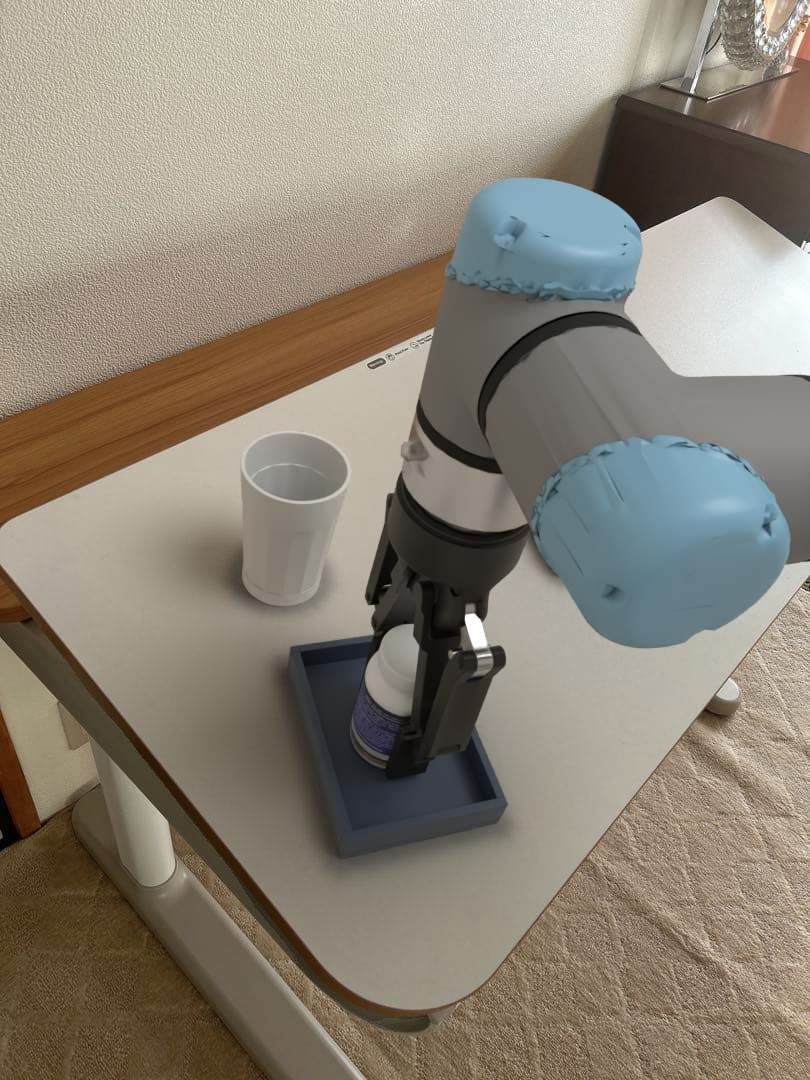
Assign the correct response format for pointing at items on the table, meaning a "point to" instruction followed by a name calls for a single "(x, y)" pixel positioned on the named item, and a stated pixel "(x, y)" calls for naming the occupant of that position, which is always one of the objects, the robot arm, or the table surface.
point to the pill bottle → (385, 695)
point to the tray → (363, 789)
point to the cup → (289, 513)
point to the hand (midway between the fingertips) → (390, 730)
